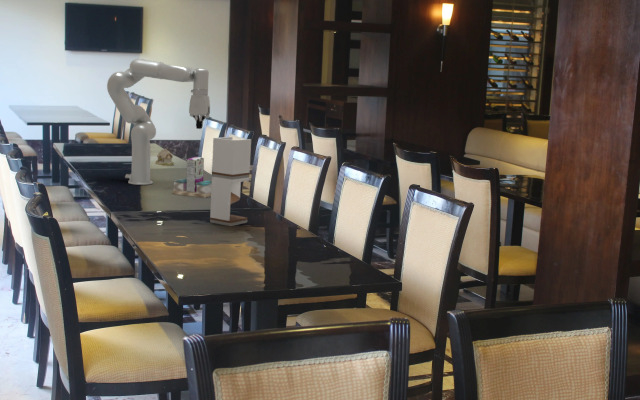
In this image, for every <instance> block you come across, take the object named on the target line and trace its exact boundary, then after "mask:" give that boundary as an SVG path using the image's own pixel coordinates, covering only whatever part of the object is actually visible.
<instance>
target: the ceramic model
mask: <svg viewBox="0 0 640 400" xmlns="http://www.w3.org/2000/svg"><path fill="white" fill-rule="evenodd" d="M156 157H157V160H155V165H159V166H166V167H167V166H168V167H169V166H174V165H175V163H174V162H173V154H172V153H171V152H170V151H169V150H168V149H167V148H164V149H162V150H160V152H158V154H157V156H156Z"/></svg>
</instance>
